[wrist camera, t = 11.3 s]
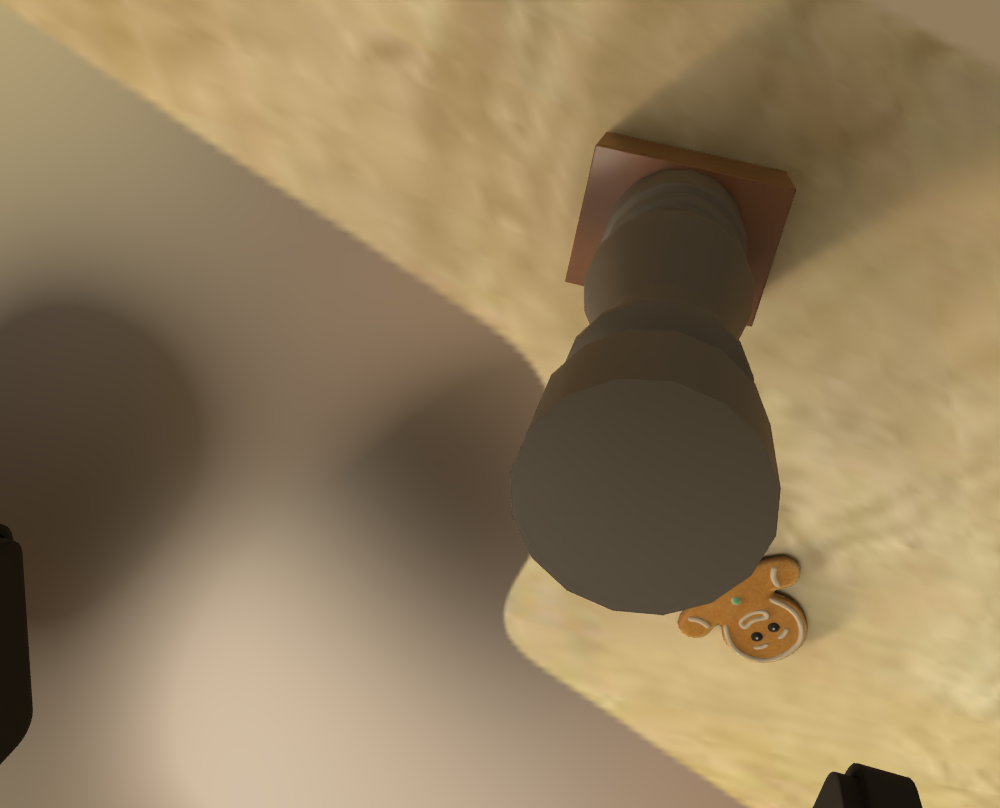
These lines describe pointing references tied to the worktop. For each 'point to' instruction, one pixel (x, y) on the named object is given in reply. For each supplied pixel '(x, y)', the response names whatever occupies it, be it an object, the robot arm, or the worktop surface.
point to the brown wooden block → (631, 159)
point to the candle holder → (655, 414)
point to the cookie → (754, 614)
